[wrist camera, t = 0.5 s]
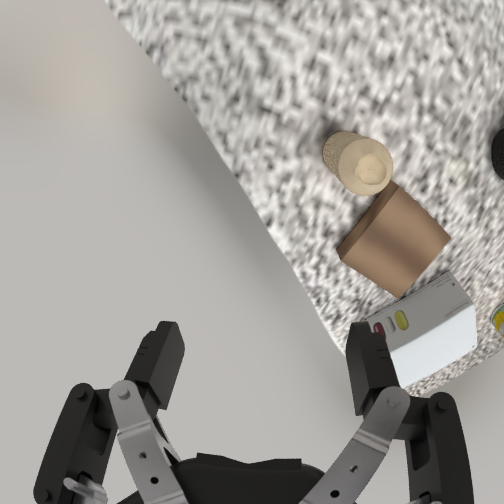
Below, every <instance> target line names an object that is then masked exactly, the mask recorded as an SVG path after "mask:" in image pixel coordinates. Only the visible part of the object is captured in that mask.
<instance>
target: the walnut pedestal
mask: <svg viewBox="0 0 504 504" xmlns="http://www.w3.org/2000/svg"><path fill="white" fill-rule="evenodd" d="M450 239H451V237H450V236H449V235H448V234H447V233H446V231H445V230H444V229H443V228H442V227H441V226H440V225H439V224H438V223H437V222H436V221H435V220H434V219H433V218H432V217H431V216H430V215H429V214H428V213H427V212H426V211H425V210H424V209H423V208H422V207H421V206H420V205H419V204H418V203H417V202H416V201H415V200H414V199H413V198H412V197H411V196H409V195H408V194H407V193H406V192H405V191H404V190H403V189H402V188H401V187H400V186H398V185H397V184H395V183H394V182H393V181H391V180H390V181H389V183H388V184H387V186H386V187H385V188H384V189H383V190H382V192H381V193H380V194H379V196H378V197H377V198H376V200H375V201H374V202H373V204H372V205H371V206H370V208H369V209H368V210H367V212H366V213H365V214H364V215H363V217H362V218H361V219H360V221H359V222H358V223H357V224H356V226H355V227H354V228H353V230H352V231H351V232H350V233H349V235H348V236H347V237H346V238H345V240H344V241H343V242H342V243H341V244H340V246H339V247H338V248H337V249H336V250H337V252H338V255H339V258H340V260H341V261H342V262H343V263H345V264H347V265H348V266H350V267H351V268H353V269H354V270H356V271H357V272H359V273H361V274H362V275H364V276H365V277H367V278H368V279H370V280H371V281H373V282H374V283H376V284H377V285H379V286H380V287H382V288H383V289H385V290H386V291H388V292H389V293H391V294H392V295H394V296H395V297H397V298H399V297H400V296H401V295H402V294H403V293H404V292H405V291H406V290H407V289H408V288H409V287H410V286H411V285H412V284H413V283H414V281H415V280H416V279H417V278H418V277H419V276H420V275H421V274H422V272H423V271H424V270H425V269H426V268H427V267H428V266H429V264H430V263H431V262H432V261H433V260H434V259H435V257H436V256H437V255H438V254H439V253H440V251H441V250H442V249H443V248H444V246H445V245H446V244H447V243H448V241H449V240H450Z"/></svg>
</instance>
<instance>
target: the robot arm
mask: <svg viewBox="0 0 504 504" xmlns="http://www.w3.org/2000/svg"><path fill="white" fill-rule="evenodd" d="M184 351H185V347H184V342H183V339H182V336H181V333H180V330H179V327H178V324H177V323H176V322H170V321H161V322H159V324H158V326H157V328H156V331H150V332H149V333H148V334H147V335H146V336H145V337H144V338H143V340H142V342H141V344H140V346H139V348H138V350H137V353H136V355H135V357H134V359H133V361H132V363H131V365H130V368H129V370H128V372H127V374H126V376H125V378H124V380H121V381H118V382H117V383H115V384H114V385H113V386H112V387H111V388H110V389H100V390H94V389H93V388H92V386H91V385H89V384H87V383H80V384H77V385H76V386H74V387H73V388H72V390H71V391H70V393H69V396H68V398H67V400H66V402H65V405H64V407H63V409H62V412H61V414H60V416H59V419H58V421H57V424H56V426H55V429H54V431H53V434H52V436H51V439H50V442H49V444H48V447H47V450H46V452H45V455H44V458H43V461H42V464H41V467H40V470H39V473H38V476H37V479H36V483H35V486H34V490H33V491H34V492H33V494H34V498H35V501H36V502H37V504H107V502H108V498H107V494H106V491H105V490H104V488H103V487H102V483H103V479H104V475H105V471H106V468H107V464H108V460H109V457H110V453H111V450H112V446H113V443H114V439H115V436H116V433H117V429H119V431H120V433H119V434H118V435H117V437H118V441H119V444H120V446H121V449H122V452H123V455H124V458H125V460H126V463H127V465H128V468H129V470H130V472H131V475H132V477H133V480H134V482H135V484H136V486H137V488H138V490H137V491H136V492H135V493H133V494H131V495H130V496H128V497H127V498H125V499H124V500H122V501H121V502H119V503H117V504H357V503H356V502H355V500H356V499H357V498H358V496H359V495H360V493H361V492H362V491H363V489H364V488H365V487H366V485H367V484H368V482H369V481H370V479H371V478H372V476H373V474H374V473H375V472H376V470H377V469H378V467H379V465H380V464H381V462H382V460H383V459H384V457H385V456H386V454H387V452H388V450H389V445H390V443H391V441H392V439H399V440H405V447H406V455H407V464H408V476H409V490H410V502H409V503H408V504H474V495H473V486H472V479H471V471H470V465H469V459H468V454H467V448H466V444H465V439H464V434H463V430H462V426H461V422H460V418H459V414H458V410H457V407H456V403H455V401H454V399H453V397H452V396H451V395H449V394H448V393H445V392H438V393H435V394H433V395H432V396H431V397H430V398H420V397H414V396H410V395H409V394H408V393H407V392H406V391H405V390H404V389H402V388H401V387H400V384H399V381H398V378H397V374H396V371H395V368H394V364H393V361H392V358H391V355H390V352H389V351H388V346H387V343H386V340H385V339H384V337H383V336H382V335H381V334H380V333H379V332H372V331H371V328H370V325H369V323H368V322H352V323H351V326H350V330H349V335H348V339H347V343H346V360H347V365H348V370H349V376H350V382H351V388H352V394H353V400H354V407H355V414H356V416H359V415H363V418H364V421H363V423H362V424H361V426H360V427H359V429H358V430H357V432H356V433H355V434H354V436H353V437H352V439H351V440H350V442H349V443H348V444H347V446H346V447H345V448H344V450H343V451H342V453H341V454H340V455H339V457H338V458H337V459H336V461H335V462H334V463H333V464H332V466H331V467H330V468H329V469H328V471H327V472H326V473H324V472H323V471H321V470H320V469H318V468H315V467H313V466H310V465H307V464H302V463H301V459H273V460H267V461H262V462H257V463H251V464H247V463H243V462H239V461H236V460H233V459H230V458H227V457H224V456H218V455H211V454H203V453H197V457H196V458H191V459H186V460H183V461H181V460H180V457H179V456H178V454H177V453H176V452H175V450H174V448H173V447H172V445H171V443H170V442H169V439H168V437H167V435H166V433H165V431H164V429H163V427H162V425H161V423H160V421H159V418H158V416H157V412H158V409H164V410H166V409H167V407H168V403H169V400H170V397H171V393H172V390H173V387H174V384H175V381H176V378H177V375H178V372H179V369H180V365H181V362H182V359H183V356H184Z"/></svg>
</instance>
